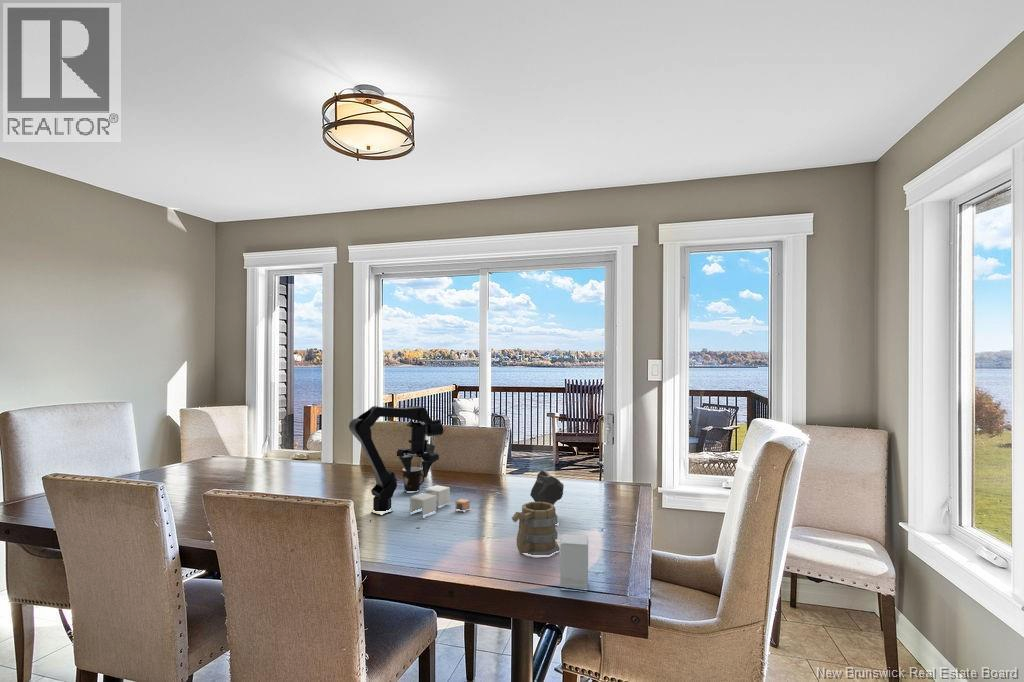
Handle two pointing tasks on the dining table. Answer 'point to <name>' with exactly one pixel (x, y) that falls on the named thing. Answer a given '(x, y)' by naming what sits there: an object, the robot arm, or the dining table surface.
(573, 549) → the supplement box
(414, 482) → the coffee mug
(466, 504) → the plain orange cube
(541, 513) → the tankard
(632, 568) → the dining table surface
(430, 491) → the cover
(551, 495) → the dark grey rock
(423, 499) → the cover
